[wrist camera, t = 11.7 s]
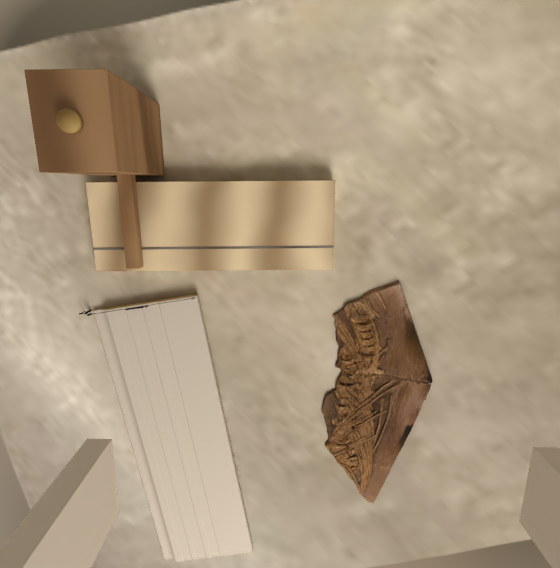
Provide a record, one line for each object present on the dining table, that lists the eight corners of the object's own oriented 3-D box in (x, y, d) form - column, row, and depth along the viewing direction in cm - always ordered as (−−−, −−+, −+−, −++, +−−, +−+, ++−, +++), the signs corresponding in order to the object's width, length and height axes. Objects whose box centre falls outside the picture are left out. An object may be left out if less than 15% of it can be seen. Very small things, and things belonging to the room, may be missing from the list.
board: (333, 180, 36) (335, 180, 35) (330, 266, 38) (333, 269, 37) (93, 182, 36) (85, 182, 35) (103, 267, 38) (96, 271, 37)
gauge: (159, 104, 35) (102, 66, 24) (171, 261, 38) (126, 293, 27) (102, 105, 35) (18, 66, 24) (119, 261, 38) (52, 293, 27)
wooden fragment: (337, 275, 39) (339, 278, 38) (447, 284, 39) (452, 287, 38) (311, 495, 45) (311, 502, 44) (406, 501, 45) (409, 509, 44)
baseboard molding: (154, 553, 47) (253, 539, 47) (147, 576, 45) (252, 562, 44) (83, 309, 40) (199, 290, 40) (68, 318, 37) (193, 299, 37)
